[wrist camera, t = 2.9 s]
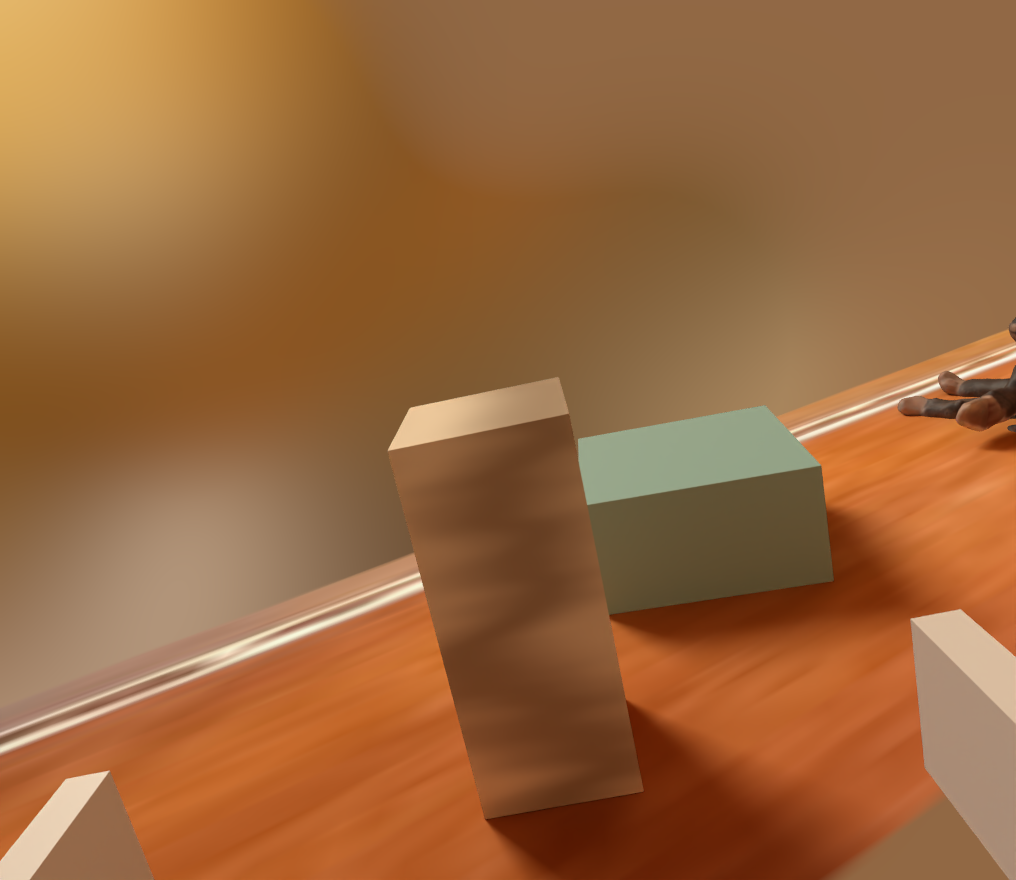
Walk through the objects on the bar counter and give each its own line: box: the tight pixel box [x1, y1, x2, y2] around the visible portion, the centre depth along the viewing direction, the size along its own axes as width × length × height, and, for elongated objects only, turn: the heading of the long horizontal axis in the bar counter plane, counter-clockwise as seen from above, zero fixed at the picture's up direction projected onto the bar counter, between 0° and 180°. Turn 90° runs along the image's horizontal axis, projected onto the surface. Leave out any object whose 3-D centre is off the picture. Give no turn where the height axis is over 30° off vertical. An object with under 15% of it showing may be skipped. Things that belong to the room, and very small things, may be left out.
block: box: [388, 377, 644, 819], centre depth 23 cm, size 4×4×11 cm
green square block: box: [578, 406, 834, 615], centre depth 35 cm, size 9×9×5 cm
